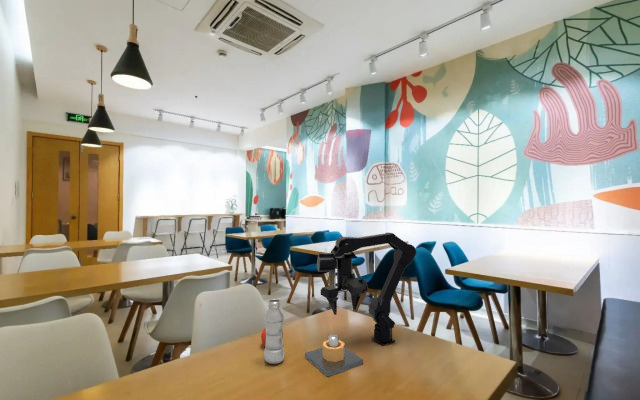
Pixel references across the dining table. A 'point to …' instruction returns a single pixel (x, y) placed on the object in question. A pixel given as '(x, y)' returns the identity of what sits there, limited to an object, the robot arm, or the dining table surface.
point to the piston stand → (329, 366)
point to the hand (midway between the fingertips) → (345, 312)
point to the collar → (333, 351)
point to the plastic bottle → (274, 333)
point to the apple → (263, 336)
